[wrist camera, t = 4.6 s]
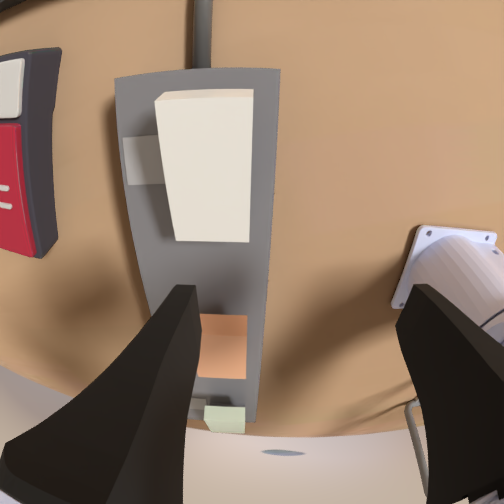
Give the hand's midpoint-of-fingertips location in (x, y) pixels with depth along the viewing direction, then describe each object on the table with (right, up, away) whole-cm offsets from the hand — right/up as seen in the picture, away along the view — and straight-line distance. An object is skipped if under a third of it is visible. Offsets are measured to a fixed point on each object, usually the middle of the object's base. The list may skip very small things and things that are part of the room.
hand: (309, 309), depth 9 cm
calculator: (-21, +10, +7) cm, 24 cm away
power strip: (-5, +2, +11) cm, 12 cm away
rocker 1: (-4, +6, +3) cm, 8 cm away
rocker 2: (-4, -14, +16) cm, 22 cm away
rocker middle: (-4, -4, +10) cm, 12 cm away
